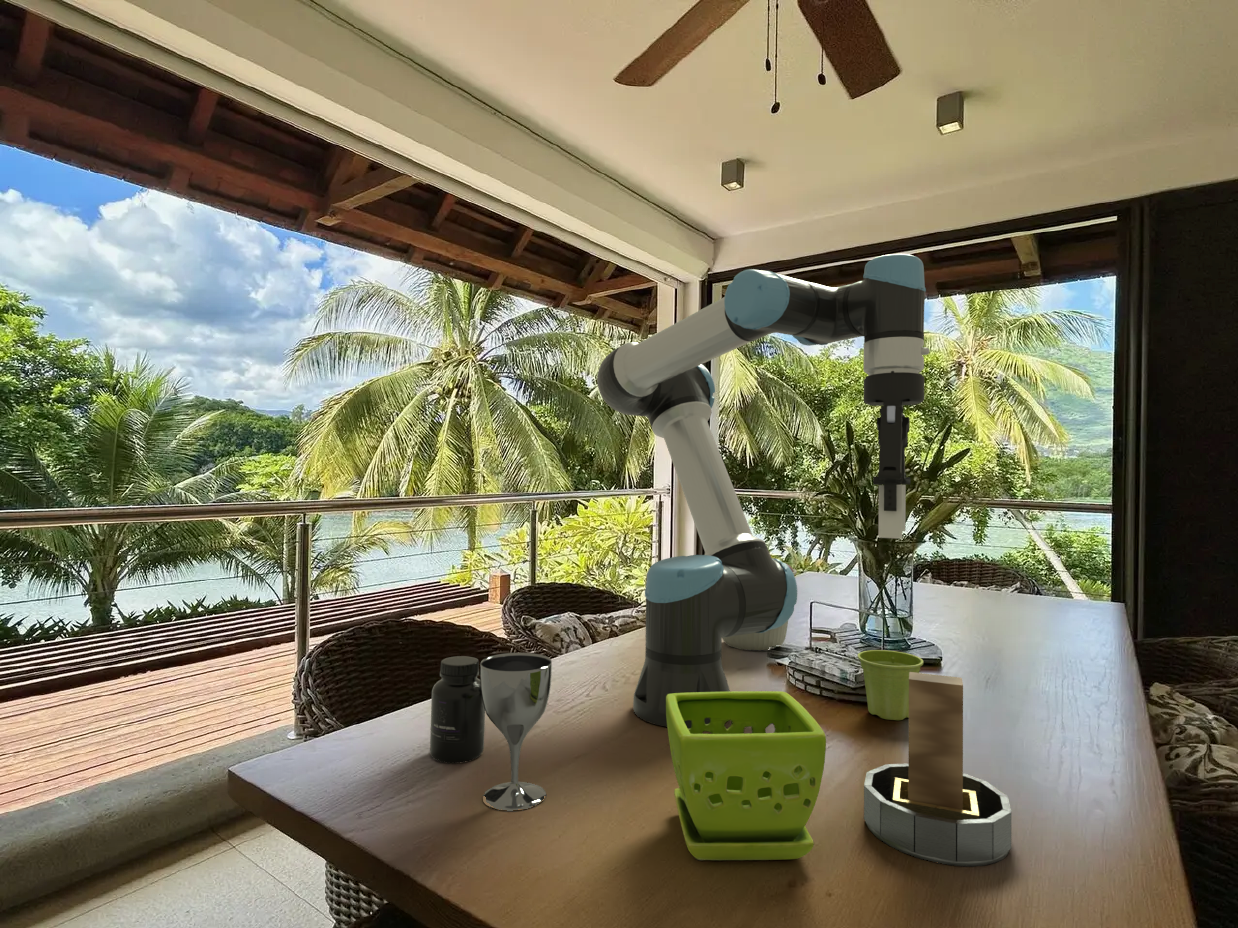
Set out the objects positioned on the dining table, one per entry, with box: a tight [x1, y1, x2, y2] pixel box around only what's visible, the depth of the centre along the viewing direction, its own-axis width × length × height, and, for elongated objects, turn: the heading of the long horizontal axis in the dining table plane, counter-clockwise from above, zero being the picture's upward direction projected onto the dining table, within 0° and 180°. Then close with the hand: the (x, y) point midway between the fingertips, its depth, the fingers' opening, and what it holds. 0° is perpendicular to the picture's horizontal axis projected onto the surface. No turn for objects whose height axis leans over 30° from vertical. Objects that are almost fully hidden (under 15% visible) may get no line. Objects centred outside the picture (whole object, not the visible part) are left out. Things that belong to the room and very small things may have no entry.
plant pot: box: [857, 649, 924, 721], centre depth 107 cm, size 9×9×9 cm
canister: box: [722, 563, 798, 651], centre depth 150 cm, size 18×18×21 cm
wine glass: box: [479, 652, 553, 812], centre depth 78 cm, size 8×8×15 cm
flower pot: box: [666, 690, 827, 861], centre depth 70 cm, size 14×14×13 cm
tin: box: [863, 763, 1012, 867], centre depth 72 cm, size 14×14×4 cm
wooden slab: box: [908, 672, 964, 810], centre depth 72 cm, size 5×3×15 cm, turn 66°
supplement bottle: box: [429, 655, 486, 764], centre depth 90 cm, size 7×7×12 cm
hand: (892, 534), depth 93 cm, fingers open, 13 cm apart
